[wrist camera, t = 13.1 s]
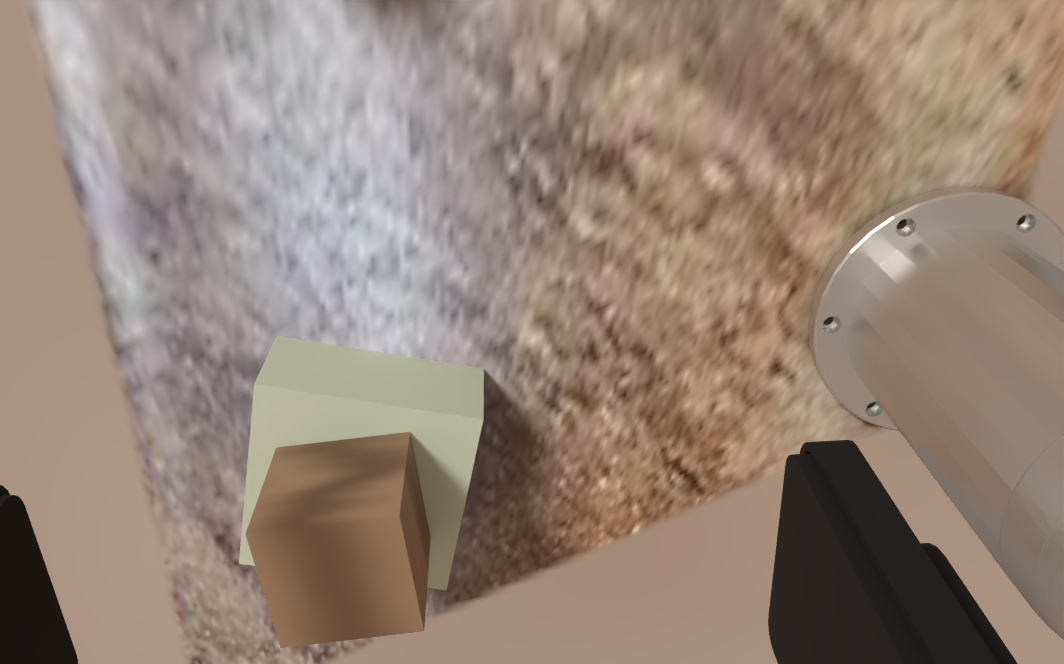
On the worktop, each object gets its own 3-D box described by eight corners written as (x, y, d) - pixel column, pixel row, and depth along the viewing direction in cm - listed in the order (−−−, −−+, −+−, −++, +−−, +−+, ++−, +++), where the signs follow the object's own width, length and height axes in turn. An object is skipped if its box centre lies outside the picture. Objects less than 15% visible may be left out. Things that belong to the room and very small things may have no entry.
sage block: (483, 365, 45) (483, 419, 41) (450, 525, 49) (446, 590, 45) (278, 332, 44) (254, 384, 39) (262, 499, 48) (238, 563, 44)
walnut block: (410, 431, 41) (399, 515, 35) (430, 537, 43) (424, 631, 38) (276, 447, 41) (245, 534, 35) (305, 552, 43) (280, 647, 38)
